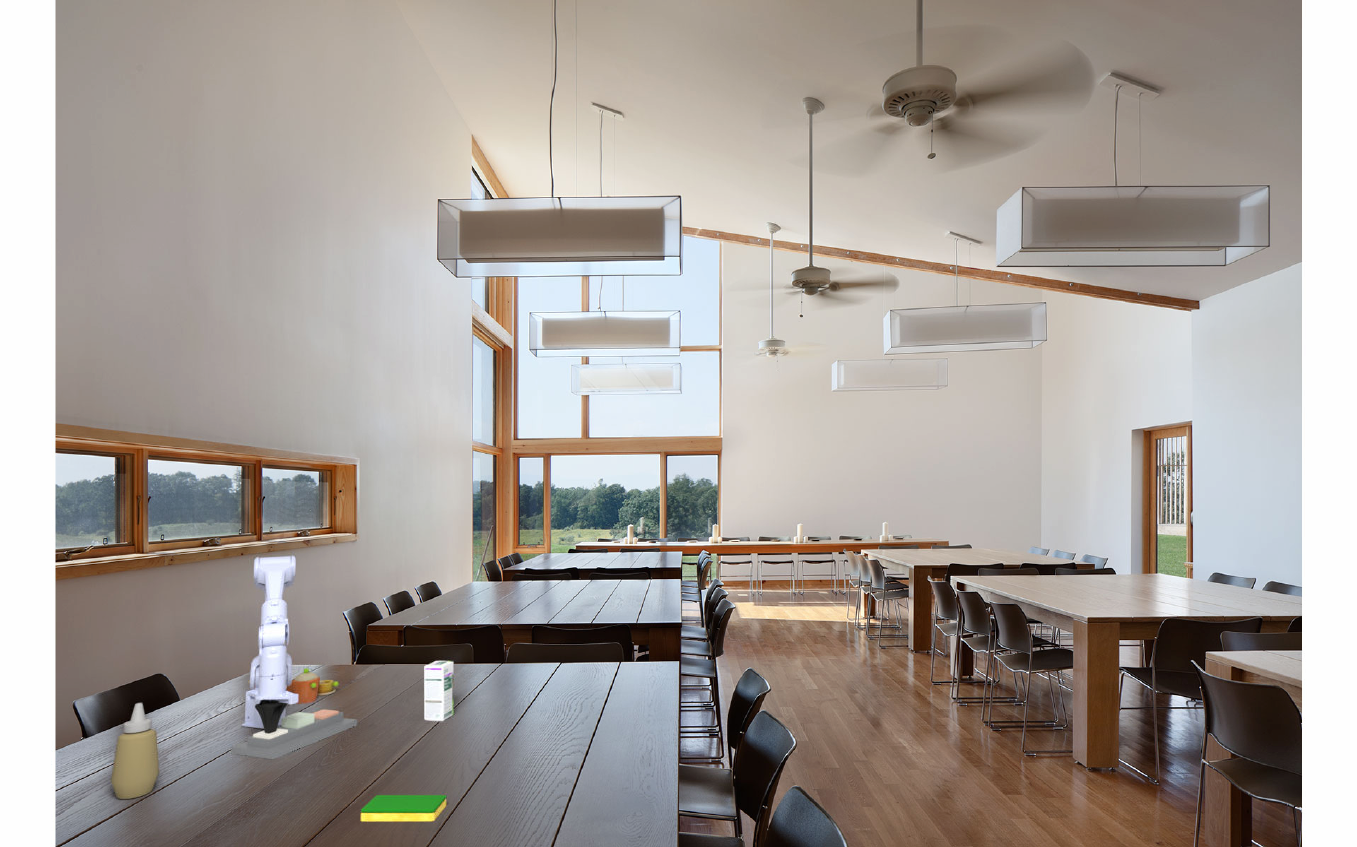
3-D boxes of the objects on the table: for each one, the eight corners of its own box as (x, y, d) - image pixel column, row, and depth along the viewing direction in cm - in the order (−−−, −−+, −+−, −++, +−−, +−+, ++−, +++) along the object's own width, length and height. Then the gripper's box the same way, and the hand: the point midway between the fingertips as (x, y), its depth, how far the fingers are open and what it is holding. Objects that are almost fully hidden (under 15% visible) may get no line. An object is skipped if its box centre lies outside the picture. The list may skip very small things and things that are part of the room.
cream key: (252, 745, 177) (253, 734, 177) (271, 738, 182) (271, 727, 182) (269, 747, 175) (269, 736, 176) (287, 740, 180) (288, 729, 181)
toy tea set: (342, 690, 232) (343, 658, 233) (319, 705, 217) (320, 671, 218) (258, 692, 232) (259, 660, 233) (228, 706, 217) (230, 672, 218)
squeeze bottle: (126, 787, 156) (130, 698, 158) (167, 785, 157) (171, 697, 159) (99, 803, 148) (104, 709, 150) (143, 801, 149) (147, 708, 151)
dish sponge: (433, 823, 138) (433, 809, 138) (359, 823, 139) (360, 809, 139) (446, 807, 145) (446, 794, 145) (376, 807, 146) (376, 794, 146)
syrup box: (443, 721, 198) (444, 665, 200) (423, 720, 200) (423, 664, 201) (454, 715, 204) (454, 660, 205) (434, 714, 205) (434, 659, 206)
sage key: (281, 728, 185) (281, 717, 185) (298, 722, 190) (298, 711, 190) (297, 730, 183) (297, 719, 183) (314, 723, 188) (314, 713, 188)
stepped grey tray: (231, 753, 176) (231, 737, 176) (318, 720, 201) (318, 707, 201) (273, 759, 172) (273, 743, 172) (357, 725, 196) (357, 711, 196)
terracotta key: (307, 724, 192) (307, 714, 192) (322, 718, 197) (323, 709, 197) (322, 726, 190) (323, 716, 191) (338, 720, 195) (338, 710, 196)
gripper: (235, 675, 179) (233, 734, 178) (281, 680, 174) (279, 740, 173) (260, 669, 185) (258, 725, 184) (306, 672, 181) (304, 731, 179)
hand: (270, 732), depth 179 cm, fingers closed, pressing on cream key
